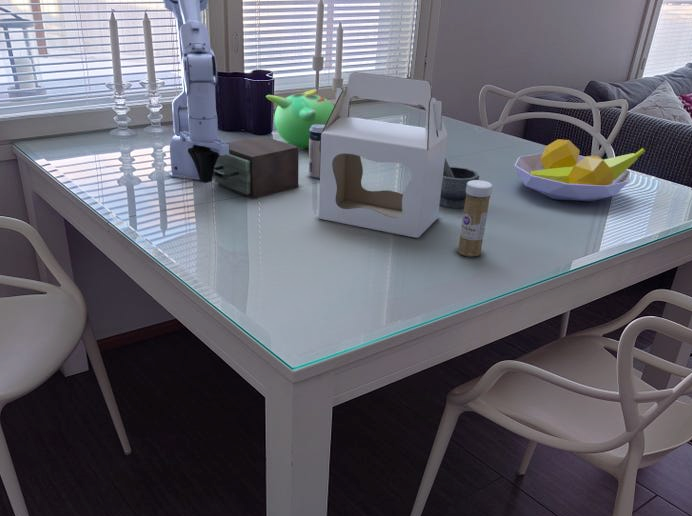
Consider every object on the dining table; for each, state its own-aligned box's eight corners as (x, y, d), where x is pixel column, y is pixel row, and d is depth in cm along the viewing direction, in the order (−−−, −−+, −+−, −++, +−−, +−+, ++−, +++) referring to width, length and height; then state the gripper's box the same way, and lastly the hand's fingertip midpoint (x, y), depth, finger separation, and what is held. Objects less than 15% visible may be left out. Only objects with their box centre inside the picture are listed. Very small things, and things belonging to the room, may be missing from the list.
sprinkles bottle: (452, 252, 131) (462, 182, 124) (465, 246, 134) (475, 177, 127) (473, 259, 129) (484, 188, 122) (485, 253, 132) (497, 183, 125)
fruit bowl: (504, 201, 158) (512, 151, 152) (519, 170, 180) (527, 125, 174) (633, 220, 151) (647, 168, 145) (633, 186, 173) (645, 139, 167)
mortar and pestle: (477, 200, 158) (485, 146, 152) (471, 212, 151) (479, 157, 144) (429, 193, 161) (434, 141, 155) (420, 205, 153) (426, 151, 147)
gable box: (438, 218, 147) (456, 78, 132) (419, 239, 136) (436, 88, 122) (342, 200, 154) (349, 65, 139) (317, 218, 144) (321, 74, 129)
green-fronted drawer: (230, 199, 149) (229, 165, 146) (199, 186, 156) (196, 153, 152) (289, 184, 160) (289, 152, 156) (257, 172, 167) (256, 141, 163)
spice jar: (325, 180, 167) (327, 129, 160) (306, 178, 167) (307, 127, 161) (329, 174, 171) (331, 124, 164) (311, 172, 171) (312, 122, 165)
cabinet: (253, 198, 153) (252, 157, 148) (218, 184, 160) (216, 144, 156) (298, 186, 162) (298, 147, 157) (263, 173, 169) (262, 135, 164)
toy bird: (348, 146, 194) (351, 91, 186) (314, 159, 182) (316, 100, 174) (295, 135, 202) (296, 82, 194) (260, 147, 190) (259, 90, 182)
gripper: (165, 112, 145) (171, 176, 152) (207, 125, 136) (211, 193, 143) (193, 108, 149) (197, 171, 156) (236, 121, 141) (238, 186, 148)
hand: (206, 181), depth 150 cm, fingers closed
